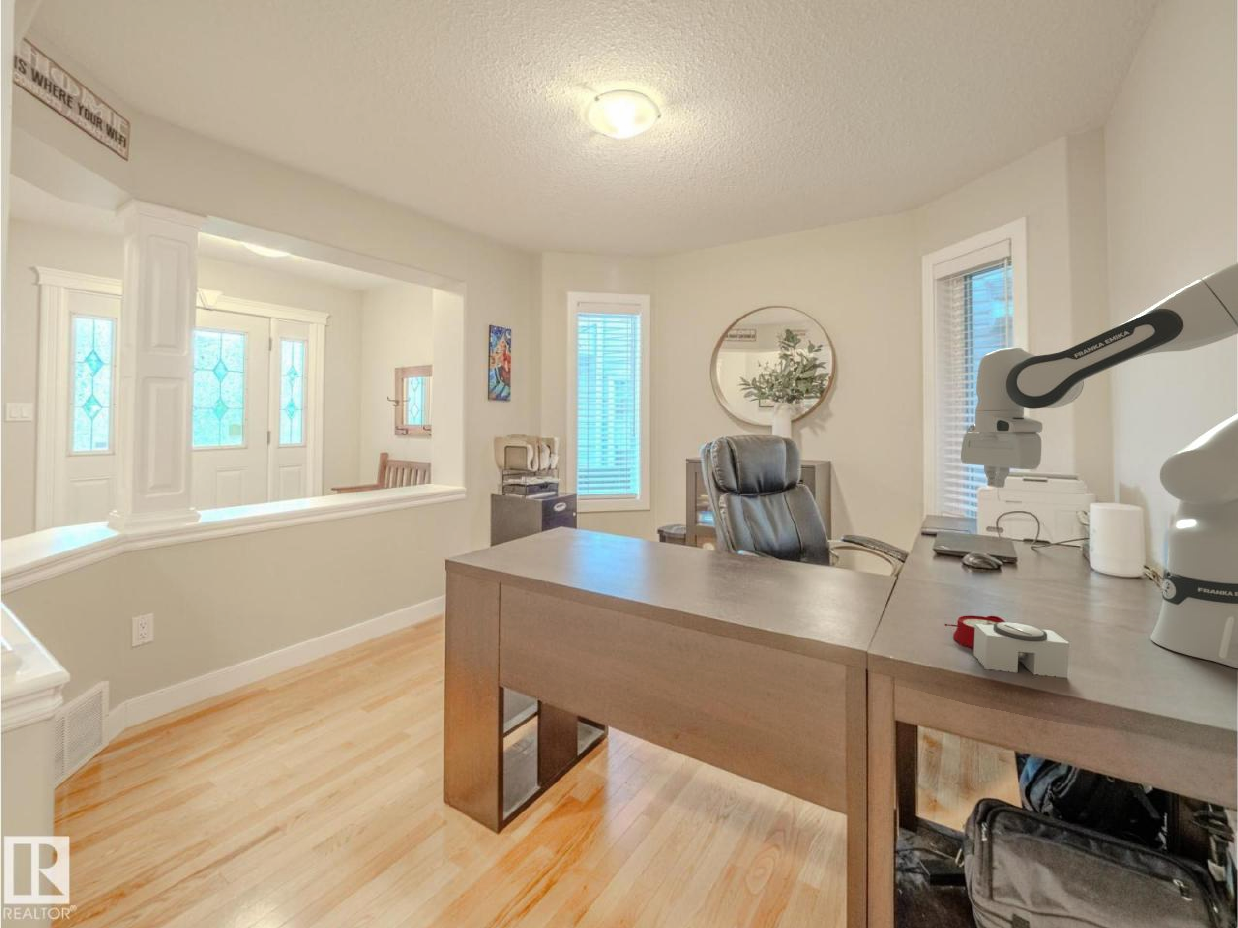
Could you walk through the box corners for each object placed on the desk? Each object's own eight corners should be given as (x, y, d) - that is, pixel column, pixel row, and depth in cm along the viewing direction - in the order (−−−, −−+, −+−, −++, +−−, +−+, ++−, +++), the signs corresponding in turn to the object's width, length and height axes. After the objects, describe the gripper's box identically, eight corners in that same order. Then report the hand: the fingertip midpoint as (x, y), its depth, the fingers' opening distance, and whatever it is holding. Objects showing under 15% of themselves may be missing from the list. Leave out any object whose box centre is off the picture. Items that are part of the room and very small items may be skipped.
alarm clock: (936, 618, 110) (996, 597, 113) (941, 647, 111) (1000, 625, 114) (981, 637, 100) (1045, 614, 103) (986, 669, 101) (1050, 644, 104)
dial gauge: (1047, 661, 98) (1049, 624, 98) (1069, 679, 91) (1071, 640, 90) (971, 653, 101) (973, 617, 101) (987, 670, 94) (988, 632, 94)
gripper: (954, 424, 130) (952, 482, 131) (1018, 423, 109) (1015, 492, 110) (980, 424, 130) (978, 482, 131) (1049, 423, 109) (1045, 492, 110)
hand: (995, 487), depth 120 cm, fingers closed
